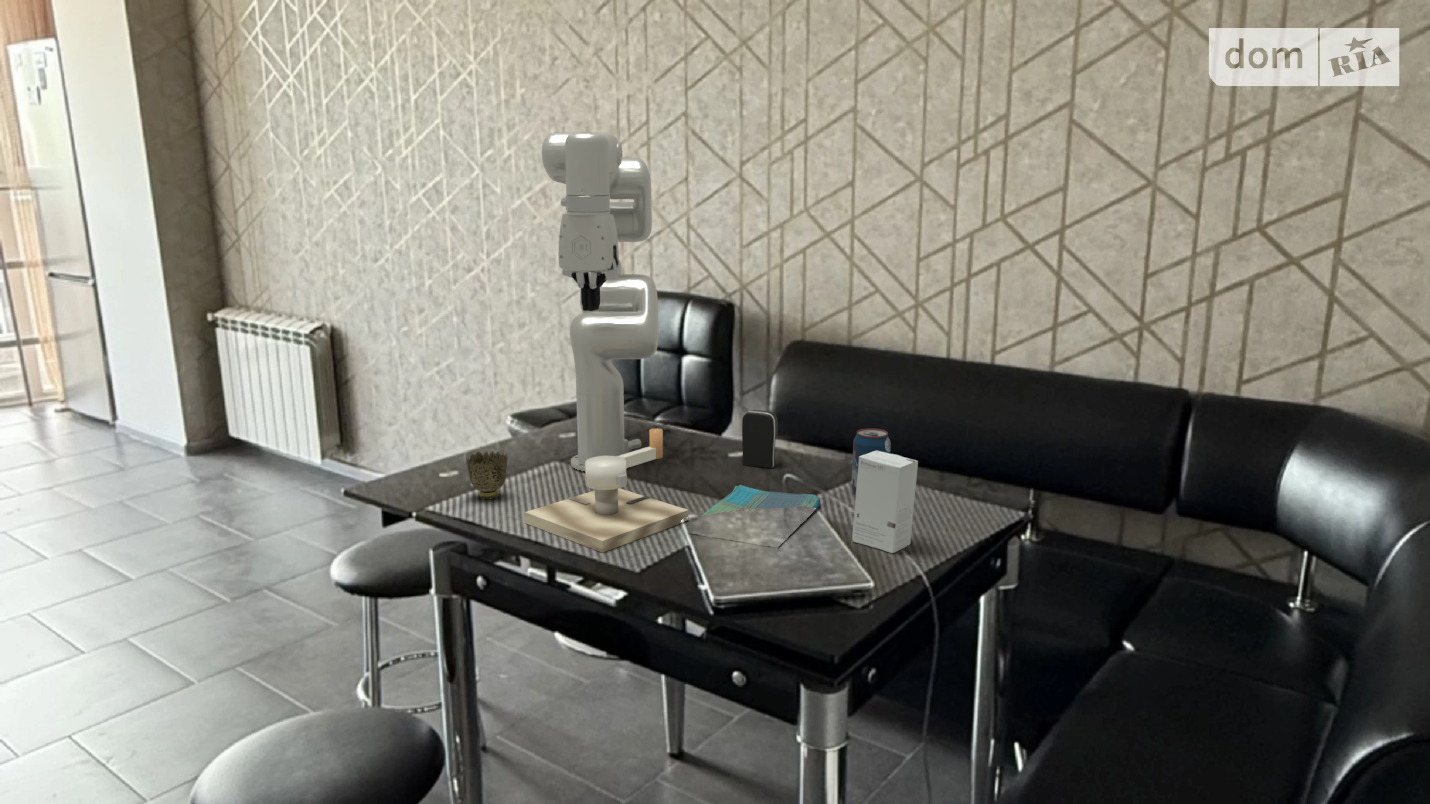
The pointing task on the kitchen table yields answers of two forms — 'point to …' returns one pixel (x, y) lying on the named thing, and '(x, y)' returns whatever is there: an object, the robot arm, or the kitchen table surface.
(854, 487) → the soda can
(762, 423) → the battery charger
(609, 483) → the crank handle
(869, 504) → the skincare box
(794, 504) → the dish towel
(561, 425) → the kitchen table surface
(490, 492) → the cup
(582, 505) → the post board
